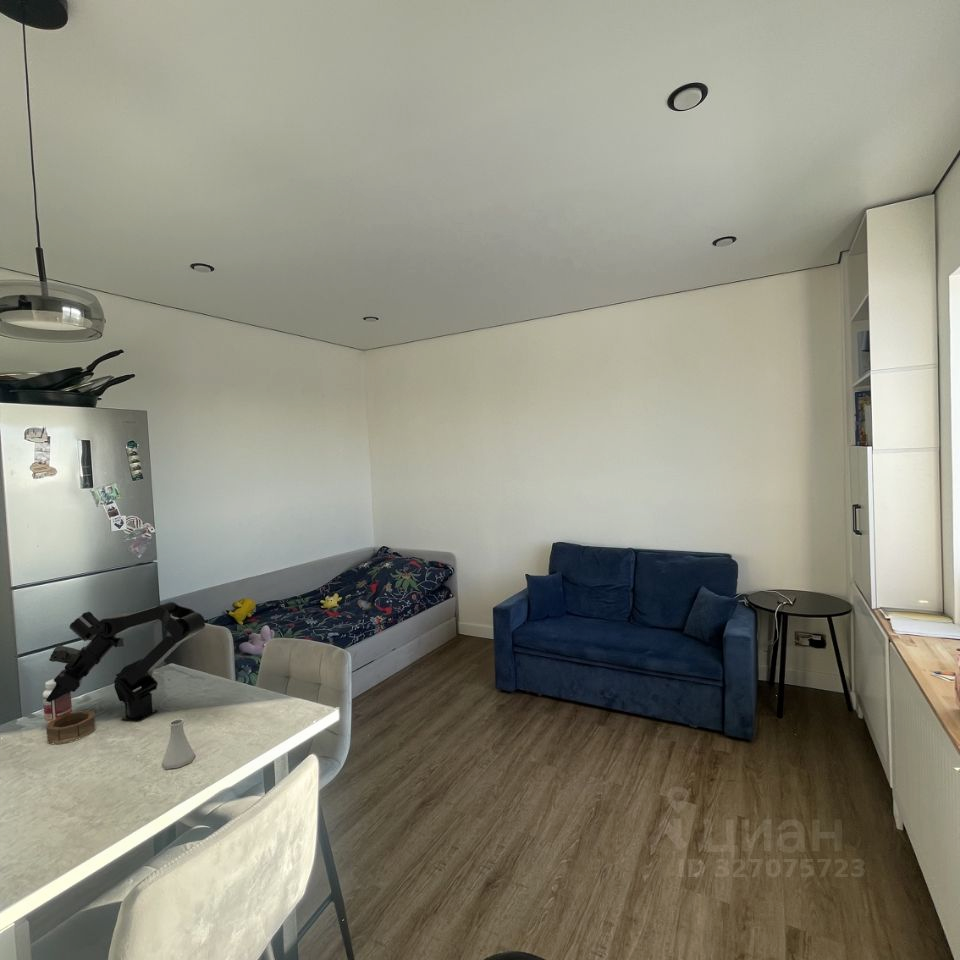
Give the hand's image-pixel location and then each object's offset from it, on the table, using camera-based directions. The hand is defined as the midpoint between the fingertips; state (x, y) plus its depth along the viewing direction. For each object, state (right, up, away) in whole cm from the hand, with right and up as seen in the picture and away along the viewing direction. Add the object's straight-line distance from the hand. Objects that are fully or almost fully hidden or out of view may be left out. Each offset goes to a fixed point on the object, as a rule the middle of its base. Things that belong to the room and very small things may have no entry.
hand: (50, 696), depth 147 cm
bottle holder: (+10, -8, -5) cm, 14 cm away
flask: (+49, -7, -21) cm, 54 cm away
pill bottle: (+2, -7, +1) cm, 7 cm away
